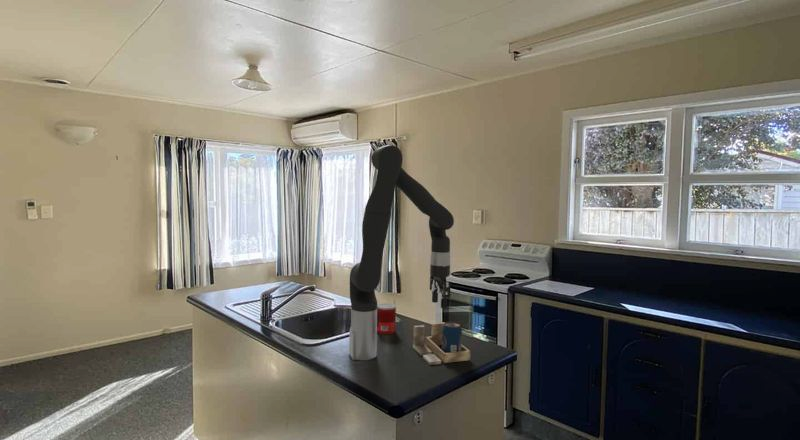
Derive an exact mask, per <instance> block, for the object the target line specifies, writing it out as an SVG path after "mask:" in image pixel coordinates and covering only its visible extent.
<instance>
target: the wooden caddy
mask: <svg viewBox="0 0 800 440" xmlns="http://www.w3.org/2000/svg"><path fill="white" fill-rule="evenodd" d="M444 323H446V322H444V321H443V322H432V323H431V331H430V332H431V336H425V337H424V345H425V346H426V347H427V348H428V349H429V350H430V351H431V352H432V354H434V355H436V356H437V357H438V358H439V359H440V360H441V363H442V362H443V364H449V363H455V362H456V363H457V362H464V361H465V362H466V361H470V360H471V350H470V349H469V348H467V347H466V346H464V345H463V344H462V343H461V351H460V352H450V353H445V352H444V351H442V348H440V346H442V328H443V326H444Z"/></svg>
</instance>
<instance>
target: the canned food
mask: <svg viewBox="0 0 800 440" xmlns="http://www.w3.org/2000/svg"><path fill="white" fill-rule="evenodd" d="M396 307H397V306H396V304H394V303H386V302H385V303H379V304H377V334H381V335H391V334H393V333H395V332H396V318H397V317H396V316H397V315H396V314H397V308H396Z"/></svg>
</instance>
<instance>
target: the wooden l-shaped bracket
mask: <svg viewBox="0 0 800 440" xmlns="http://www.w3.org/2000/svg"><path fill="white" fill-rule="evenodd" d="M425 331H426V330H425V325H423V324H422V325H414V326H413V345H412V348H413V349H414V350H415V351H416V352H417V353H418V354H419V355H420V357H421V356H422V359H423V360H424V361H425V362H426V363H427V364H428V365H429V366H433V365H441V364H442V361H441V360H440V359H439V358H438V357H437V356H436V355H435V354H434V353H433V352H432V351H431V350H430V349H429V348H428V347H427V346H426V345H425Z"/></svg>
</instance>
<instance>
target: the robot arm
mask: <svg viewBox="0 0 800 440" xmlns="http://www.w3.org/2000/svg"><path fill="white" fill-rule="evenodd" d="M370 157H371V158H370V159H371V164H372V166H373V167H374V169H375V170H377V172H376V179H375V183H374V187H373V189H372V191H371V193H370V195H369V196H368V200H367V202H366V203H365V208H364V212H363V218H362V224H361V225H362V226H361V227H362V229H361V231H362V232H361V233H362V234H361V237H362V252H361V258H360V262H358V263H355V264H354V265H353V266H352V267H351V270H350V273H349V299H350V309H351V310H350V327H349V335H348V336H349V342H348V343H349V345H348V348H349V350H348V353H349V356H350V358H351V360H353V361H357V360H358V361H370V360H373V359H375V358H376V357H377V352H378V351H377V350H378V349H377V341H378V340H377V337H378V336H377V335H378V332H377V305H378V299H377V297H376V291H375V290H376V288H378V286H379V284H380V281H381V277H382V276H381V275H382V265H383V264H382V263H383V254H384V248H385V245H386V240H387V234H388V229H389V226H390V221H391V214H392V208H393V204H394V197H395V190H396V187H397V188H398V189H399V190H400V191H401V192H403V194H404V195H405V196H406V197H407V198H408V199H409V200H410V202H412V204H414V206H415V207H416V208H417V209H418V210H419V211H420V212H421V213H422V214H424V215H426V216H427V217H429V219H428V228H429V234H430V238H431V249H430V251H431V252H430V264H429V265H430V267H429V269H430V270H429V274H430V275H429V276H430V277H429V290H430V291H431V302H432V303H438V302H439V294H440V308H441V309H443V310H445V309H447V307H448V299H450V298H451V281H447V278H448V277H449V276H451V239H450V237H449V236H447V233H446V231H448V230H450V229H452V228H453V226H454V224H455V223H454V222H455V220H454V219H455V218H454V216H453V214H452V213H451V211H449V209H447V208H446V207H445V206H444V205H442V204H441V203H440V202H439V201H437V200H436V199H435V197H434V196H433V195H432V194H431V193H430V192H429V190H428V189H427V188H426V187H425V186H423V185H422V184H421V183H420V182H419V181H417V180H416V179H415V178H413V177H412V176H411V175H409V173H408V172H406V171H405V170H404V168H403V167H402V165H403V153H402V150H401V149H400V148H399V147H398V146H396V145H394V144H393V145H392V144H389V145H383V146H379V147H378V148H376V149H374V150H373V152H372V154H371V156H370Z"/></svg>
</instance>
